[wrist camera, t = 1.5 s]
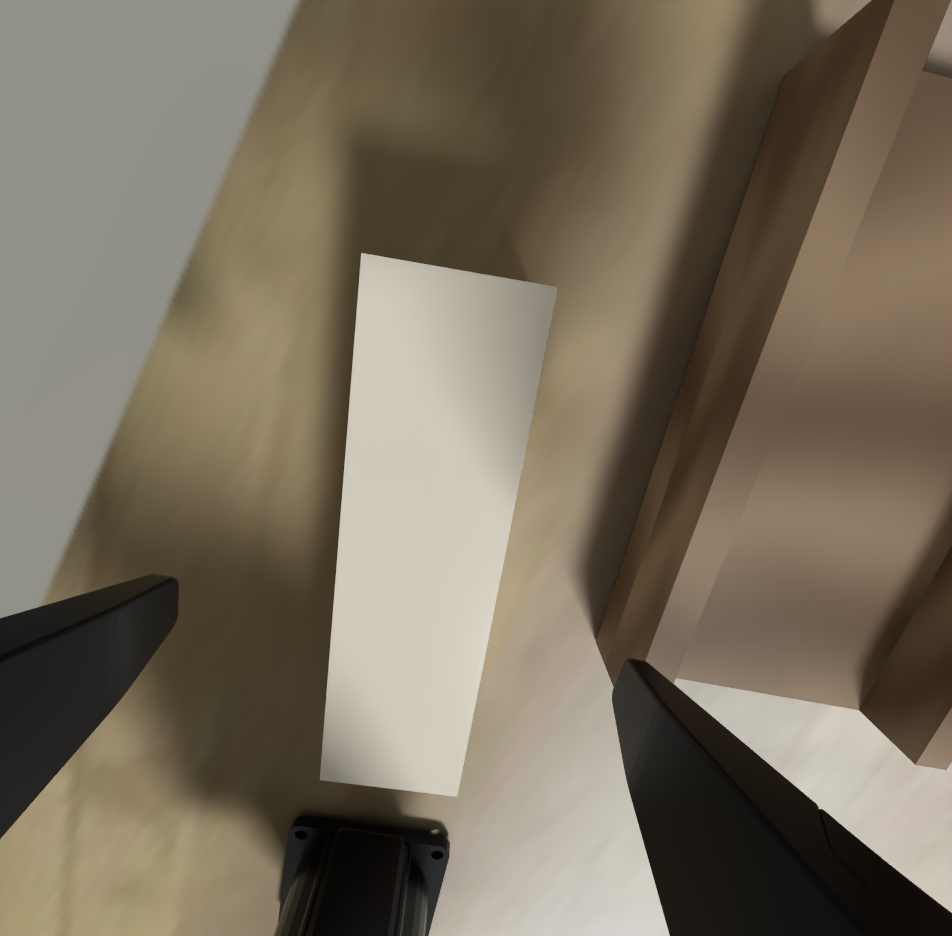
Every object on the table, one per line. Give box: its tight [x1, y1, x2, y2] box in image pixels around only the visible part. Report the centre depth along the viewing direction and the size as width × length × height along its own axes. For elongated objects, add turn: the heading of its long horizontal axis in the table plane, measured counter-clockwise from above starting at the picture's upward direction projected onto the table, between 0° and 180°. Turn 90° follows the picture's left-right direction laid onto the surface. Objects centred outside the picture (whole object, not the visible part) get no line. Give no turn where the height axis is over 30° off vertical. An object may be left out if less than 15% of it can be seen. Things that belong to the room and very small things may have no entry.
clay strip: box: [320, 253, 558, 797], centre depth 13 cm, size 14×4×4 cm, turn 171°
